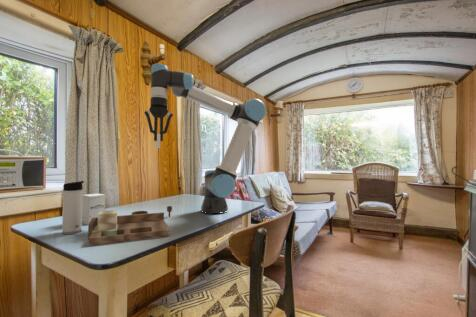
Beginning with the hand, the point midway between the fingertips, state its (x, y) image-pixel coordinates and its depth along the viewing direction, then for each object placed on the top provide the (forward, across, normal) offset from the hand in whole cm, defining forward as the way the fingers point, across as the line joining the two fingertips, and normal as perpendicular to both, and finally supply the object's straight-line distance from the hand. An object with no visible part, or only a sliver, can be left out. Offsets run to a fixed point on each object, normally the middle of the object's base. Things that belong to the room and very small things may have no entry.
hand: (158, 148), depth 111 cm
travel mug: (+35, +32, +6) cm, 48 cm away
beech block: (+32, +19, +14) cm, 40 cm away
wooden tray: (+34, +11, +17) cm, 40 cm away
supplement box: (+35, +27, -8) cm, 45 cm away
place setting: (+35, +4, -1) cm, 35 cm away
